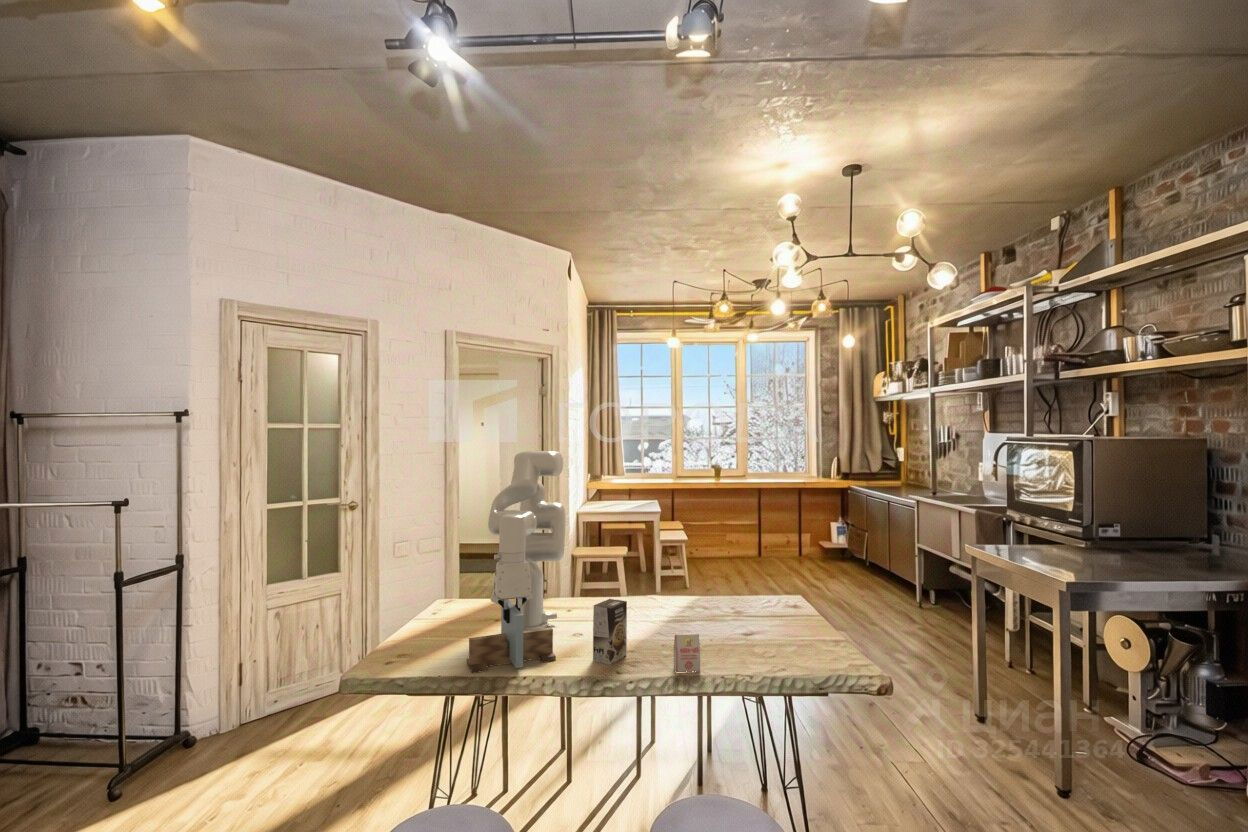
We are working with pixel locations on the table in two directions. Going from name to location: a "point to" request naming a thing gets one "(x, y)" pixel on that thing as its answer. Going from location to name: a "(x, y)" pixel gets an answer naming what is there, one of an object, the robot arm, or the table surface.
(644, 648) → the table surface
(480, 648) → the slotted board
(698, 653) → the white carton
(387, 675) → the table surface
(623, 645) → the coffee box
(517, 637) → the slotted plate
